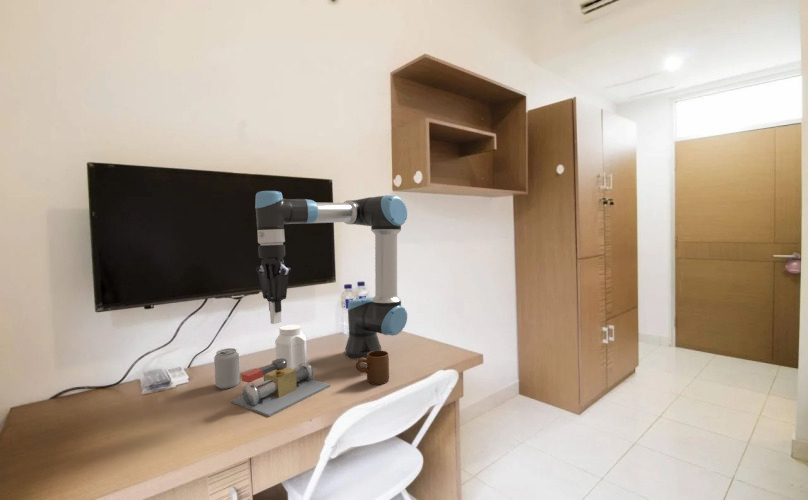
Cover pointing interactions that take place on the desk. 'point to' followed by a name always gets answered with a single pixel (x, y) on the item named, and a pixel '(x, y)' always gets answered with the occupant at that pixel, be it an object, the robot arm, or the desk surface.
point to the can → (227, 368)
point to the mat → (284, 398)
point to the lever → (264, 370)
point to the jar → (291, 345)
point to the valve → (277, 384)
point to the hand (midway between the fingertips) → (276, 322)
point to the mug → (375, 367)
